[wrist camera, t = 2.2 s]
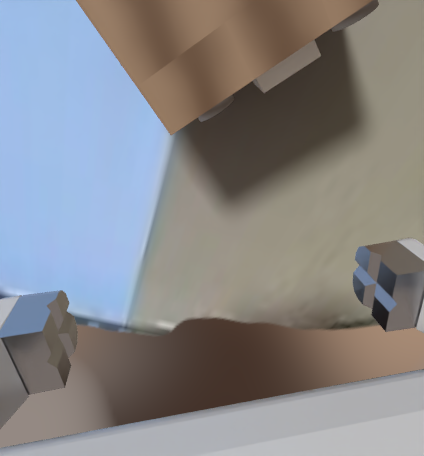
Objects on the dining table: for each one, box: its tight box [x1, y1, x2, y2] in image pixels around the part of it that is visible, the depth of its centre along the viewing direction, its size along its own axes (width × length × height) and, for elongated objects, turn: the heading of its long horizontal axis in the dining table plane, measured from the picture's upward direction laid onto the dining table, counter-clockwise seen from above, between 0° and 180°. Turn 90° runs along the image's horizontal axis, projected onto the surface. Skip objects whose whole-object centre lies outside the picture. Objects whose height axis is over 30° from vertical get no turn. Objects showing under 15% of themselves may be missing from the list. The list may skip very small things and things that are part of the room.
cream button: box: [253, 40, 321, 93], centre depth 28 cm, size 5×4×5 cm
